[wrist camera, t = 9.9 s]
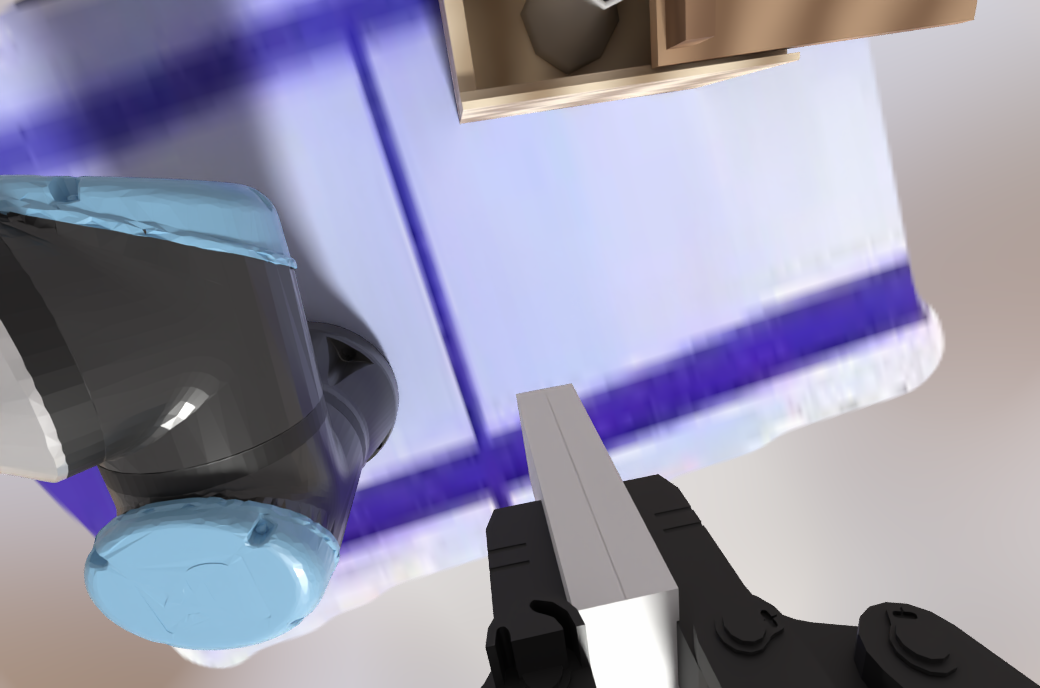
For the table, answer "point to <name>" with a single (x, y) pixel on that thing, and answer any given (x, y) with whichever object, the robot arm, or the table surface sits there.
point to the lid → (784, 24)
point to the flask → (570, 30)
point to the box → (541, 87)
